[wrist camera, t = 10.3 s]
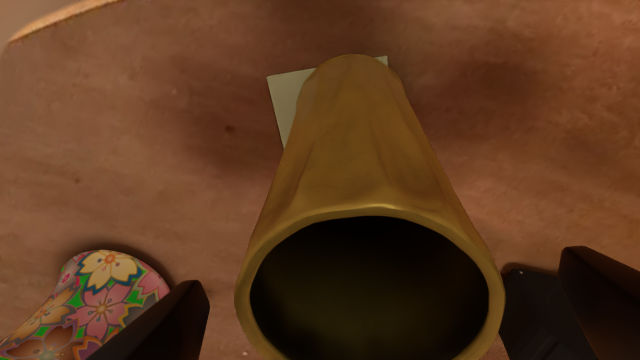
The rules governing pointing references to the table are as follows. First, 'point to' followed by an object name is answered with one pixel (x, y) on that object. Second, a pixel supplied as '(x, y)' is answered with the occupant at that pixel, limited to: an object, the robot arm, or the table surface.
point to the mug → (86, 307)
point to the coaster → (290, 96)
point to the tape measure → (540, 320)
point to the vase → (365, 235)
